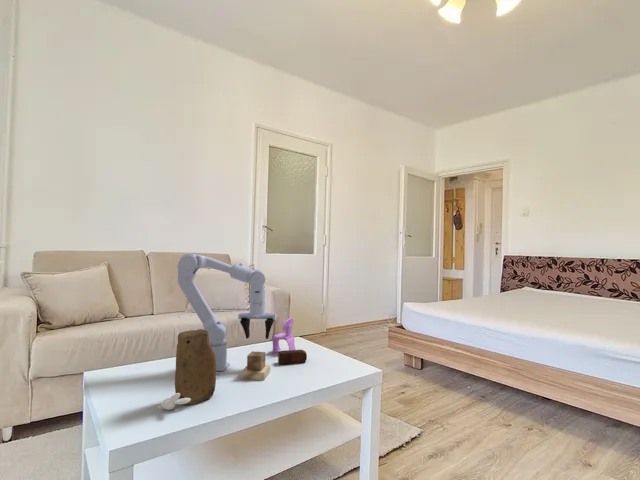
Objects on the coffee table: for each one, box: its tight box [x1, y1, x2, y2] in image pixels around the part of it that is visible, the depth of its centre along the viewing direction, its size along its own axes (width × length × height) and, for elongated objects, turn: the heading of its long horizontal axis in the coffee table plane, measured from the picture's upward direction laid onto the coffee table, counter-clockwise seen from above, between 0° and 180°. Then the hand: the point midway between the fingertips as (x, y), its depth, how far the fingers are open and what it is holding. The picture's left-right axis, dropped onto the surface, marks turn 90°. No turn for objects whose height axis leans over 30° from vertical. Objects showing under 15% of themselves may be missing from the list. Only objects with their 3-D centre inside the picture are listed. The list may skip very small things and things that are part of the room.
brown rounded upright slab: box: [174, 328, 217, 405], centre depth 103 cm, size 11×8×20 cm
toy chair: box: [272, 317, 297, 354], centre depth 150 cm, size 8×9×15 cm
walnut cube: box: [246, 350, 266, 371], centre depth 122 cm, size 5×5×5 cm
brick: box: [277, 349, 308, 366], centre depth 136 cm, size 11×4×5 cm, turn 109°
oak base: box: [240, 364, 271, 381], centre depth 122 cm, size 8×8×3 cm
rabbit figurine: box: [157, 393, 191, 413], centre depth 95 cm, size 6×4×8 cm
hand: (257, 338), depth 133 cm, fingers open, 7 cm apart
